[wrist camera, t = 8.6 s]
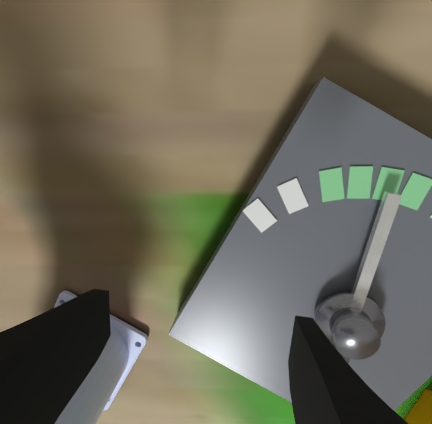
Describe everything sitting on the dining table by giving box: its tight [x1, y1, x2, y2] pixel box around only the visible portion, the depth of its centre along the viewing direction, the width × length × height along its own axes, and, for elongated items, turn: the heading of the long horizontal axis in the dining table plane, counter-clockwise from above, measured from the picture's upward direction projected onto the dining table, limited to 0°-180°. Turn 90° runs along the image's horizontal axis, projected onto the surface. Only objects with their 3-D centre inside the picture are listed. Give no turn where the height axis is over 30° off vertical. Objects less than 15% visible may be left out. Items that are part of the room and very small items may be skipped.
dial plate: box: [168, 77, 432, 411], centre depth 20 cm, size 19×16×3 cm
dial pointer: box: [314, 191, 402, 364], centre depth 16 cm, size 14×4×4 cm, turn 171°
